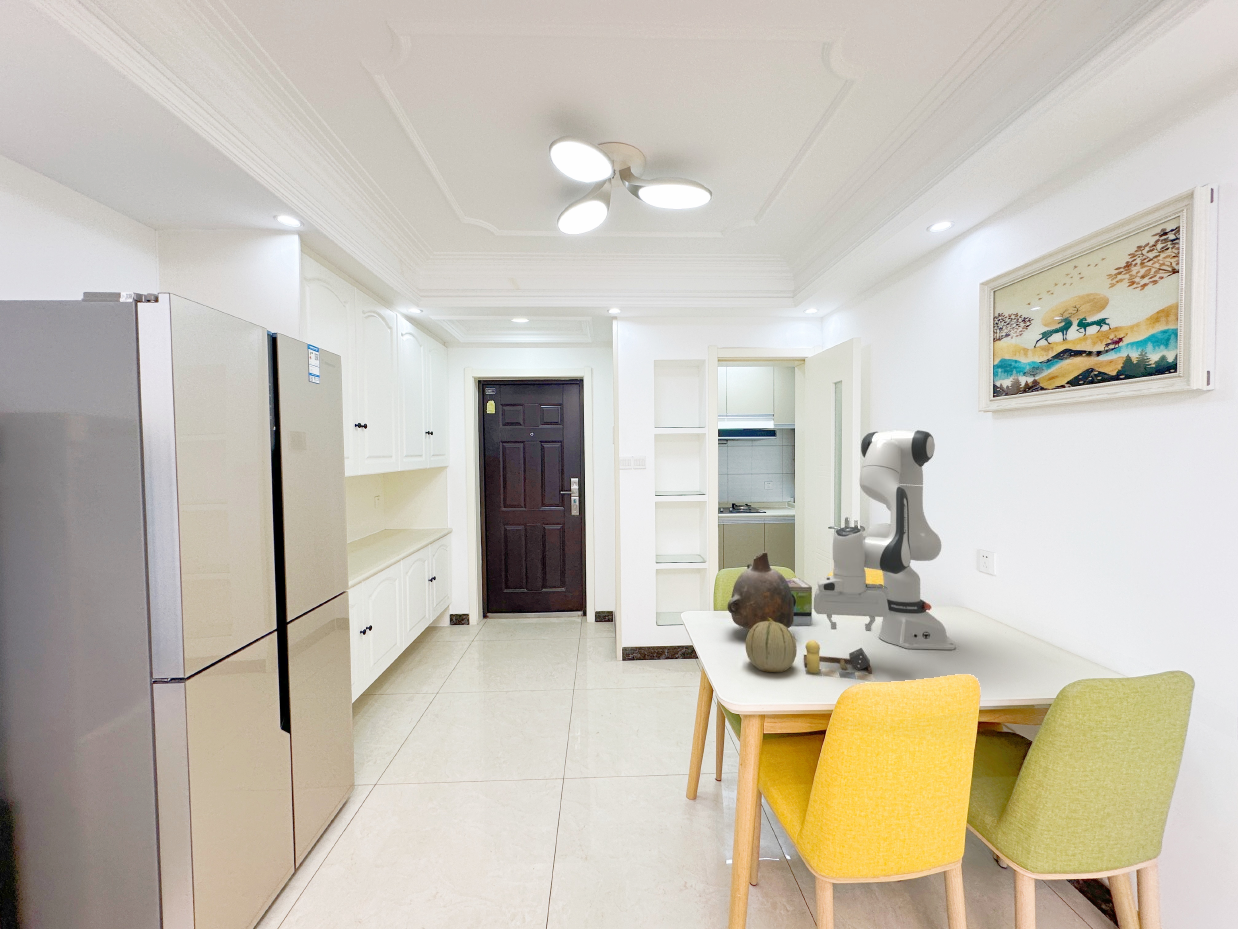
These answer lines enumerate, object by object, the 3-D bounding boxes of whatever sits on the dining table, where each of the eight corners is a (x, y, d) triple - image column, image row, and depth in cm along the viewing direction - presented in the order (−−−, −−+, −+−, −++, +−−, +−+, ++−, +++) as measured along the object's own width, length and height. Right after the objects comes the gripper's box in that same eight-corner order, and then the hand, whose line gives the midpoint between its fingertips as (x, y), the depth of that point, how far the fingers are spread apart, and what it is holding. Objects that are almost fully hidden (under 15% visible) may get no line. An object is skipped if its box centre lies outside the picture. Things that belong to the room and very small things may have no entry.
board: (868, 668, 159) (868, 660, 159) (875, 685, 147) (874, 676, 147) (803, 662, 164) (803, 654, 164) (805, 678, 152) (805, 669, 152)
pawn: (820, 669, 155) (819, 639, 155) (820, 674, 152) (819, 643, 152) (806, 668, 157) (805, 638, 157) (806, 673, 153) (805, 642, 153)
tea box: (812, 626, 199) (812, 586, 199) (785, 626, 199) (785, 586, 199) (800, 614, 214) (799, 577, 214) (774, 614, 214) (774, 577, 214)
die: (857, 665, 159) (870, 659, 157) (857, 670, 155) (870, 664, 153) (848, 653, 159) (861, 647, 158) (849, 658, 156) (862, 651, 154)
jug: (753, 621, 205) (753, 543, 204) (807, 634, 190) (806, 549, 189) (716, 637, 188) (715, 551, 187) (771, 652, 173) (770, 559, 172)
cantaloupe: (760, 684, 149) (760, 630, 149) (736, 664, 163) (736, 615, 163) (807, 678, 152) (807, 625, 152) (780, 659, 167) (780, 611, 166)
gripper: (886, 581, 158) (887, 628, 158) (812, 579, 164) (813, 624, 164) (890, 587, 152) (891, 635, 152) (813, 584, 158) (815, 631, 158)
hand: (850, 629), depth 158 cm, fingers open, 8 cm apart
